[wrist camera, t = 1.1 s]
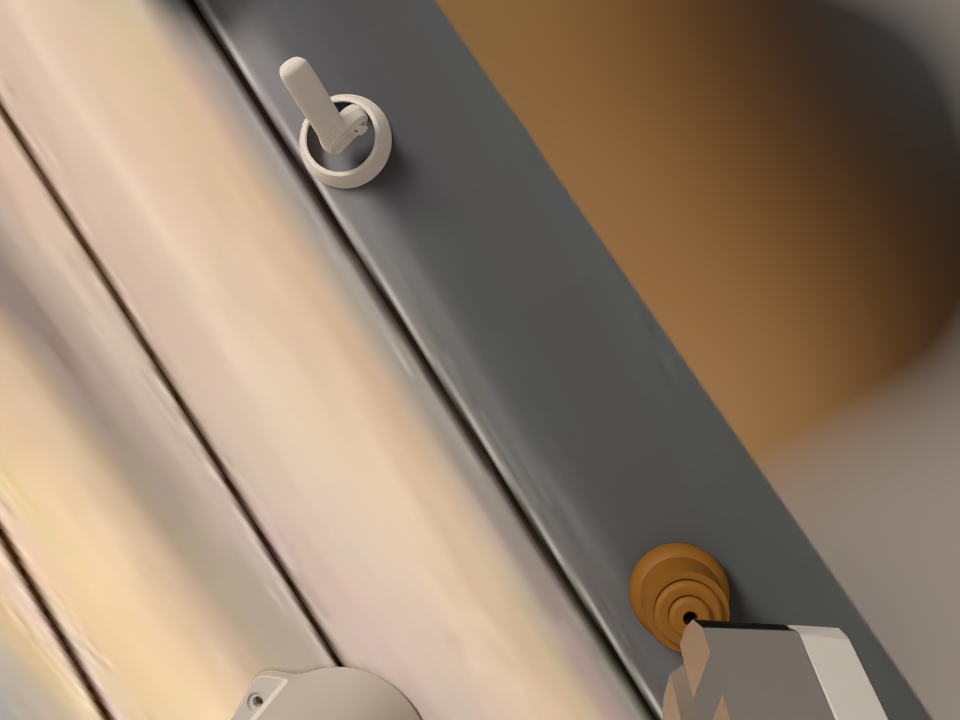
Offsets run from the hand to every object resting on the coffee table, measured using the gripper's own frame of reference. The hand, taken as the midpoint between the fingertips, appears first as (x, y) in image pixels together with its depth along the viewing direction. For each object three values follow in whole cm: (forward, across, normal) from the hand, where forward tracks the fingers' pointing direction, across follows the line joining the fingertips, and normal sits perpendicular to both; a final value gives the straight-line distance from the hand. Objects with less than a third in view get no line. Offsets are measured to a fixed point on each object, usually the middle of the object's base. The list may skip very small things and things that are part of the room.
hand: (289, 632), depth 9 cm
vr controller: (+62, -7, -14) cm, 64 cm away
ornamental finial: (+41, +22, -40) cm, 61 cm away
